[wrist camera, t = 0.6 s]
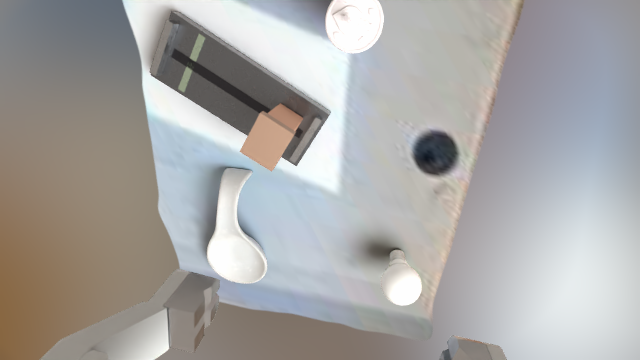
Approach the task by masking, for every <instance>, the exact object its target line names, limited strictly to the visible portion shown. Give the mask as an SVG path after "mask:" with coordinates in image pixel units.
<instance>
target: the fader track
mask: <svg viewBox="0 0 640 360" xmlns="http://www.w3.org/2000/svg"><path fill="white" fill-rule="evenodd" d="M150 73H151V76H153V77H155V78H156V79H158V80H159V81H161V82H163V83H164V84H166V85H167V86H169V87H171V88H172V89H174V90H175V91H177V92H179V93H180V94H182V95H183V96H185V97H187V98H188V99H190V100H191V101H193V102H195V103H196V104H198V105H199V106H201V107H203V108H204V109H206V110H207V111H209V112H211V113H212V114H214V115H215V116H217V117H219V118H220V119H222V120H223V121H225V122H227V123H228V124H230V125H231V126H233V127H235V128H236V129H238V130H239V131H241V132H242V133H244V134H246V135H247V136H248V135H249V133H250V131H251V129H252V127H253V126H254V124H255V122H256V120H257V118H258V116H259V114H260V113H261V112H262V111H264V112H266V113H269V112H270V111H271V110H272V109H274V108H275V107H276V106H278V105H279V104H280V103H281V104H282V105H284V106H286V107H287V108H289V109H290V110H292V111H293V112H295V113H296V114H298V115H299V116H301V117H302V118H303V120H302V121H301V123H300V125H299V126H298V128H297V130H296V133H295V135H294V136H293V138H292V140H291V141H290V143H289V145H288V146H287V148H286V149H285V151H284V153H283V154H282V156H281V157H282V158H284V159H286V160H287V161H289V162H290V163H292V164H294V165H295V166H297V165H298V163H299V161H300V160H301V158H302V157H303V155H304V154H305V152H306V151H307V149H308V147H309V146H310V144H311V143H312V141H313V140H314V138H315V137H316V135H317V133H318V132H319V130H320V129H321V127H322V126H323V124H324V123H325V121H326V119H327V118H328V116H329V115H330V113H331V112H330V111H329V110H327V109H326V108H324V107H323V106H321V105H320V104H318V103H317V102H315V101H314V100H312V99H311V98H309V97H308V96H306V95H305V94H303V93H302V92H300V91H299V90H297V89H296V88H294V87H292V86H291V85H289V84H288V83H286V82H285V81H283V80H282V79H280V78H279V77H277V76H276V75H274V74H273V73H271V72H270V71H268V70H267V69H265V68H264V67H262V66H261V65H259V64H258V63H256V62H255V61H253V60H251V59H250V58H248V57H247V56H245V55H244V54H242V53H241V52H239V51H238V50H236V49H235V48H233V47H232V46H230V45H229V44H227V43H226V42H224V41H223V40H221V39H220V38H218V37H217V36H215V35H214V34H212V33H210V32H209V31H207V30H206V29H204V28H203V27H201V26H200V25H198V24H197V23H195V22H194V21H192V20H191V19H189V18H188V17H186V16H185V15H183V14H182V13H180V12H174V11H172V12H171V15H170V18H169V20H166V22H165V26H164V29H163V32H162V35H161V38H160V41H159V44H158V47H157V50H156V53H155V56H154V59H153V63H152V66H151V69H150Z"/></svg>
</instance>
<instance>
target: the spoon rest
mask: <svg viewBox="0 0 640 360" xmlns="http://www.w3.org/2000/svg"><path fill="white" fill-rule="evenodd" d="M251 175H252V171H250V170H244V169H237V168H226V169H225V171H224V173H223V175H222V179H221V183H220V189H219V196H218V204H217V214H216V228H215V231H214V234H213V235H212V237H211V239H210V241H209V244H208V247H207V259H208V262H209V264H210V266H211V267H212V269H213V270H214V271H215V272H216V273H217V274H218V275H220V276H221V277H223V278H225V279H227V280H229V281H232V282H237V283H245V284H247V283H254V282H257V281H259V280H260V279H262V278H263V277H264V275H265V273H266V271H267V259H266V256H265V253H264V251H263V250H262V248H261V246H260V245H259V244H258V243H257V242H256V241H255V240H254V239H253V238H251V237H249V236H248V235H246V234H245V233H244V232H243V231H242V230H241V228H240V226H239V224H238V219H237V204H238V198H239V194H240V191H241V189H242V187H243V185H244V184H245V182H246V181H247V180H248V178H249V177H250V176H251Z"/></svg>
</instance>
